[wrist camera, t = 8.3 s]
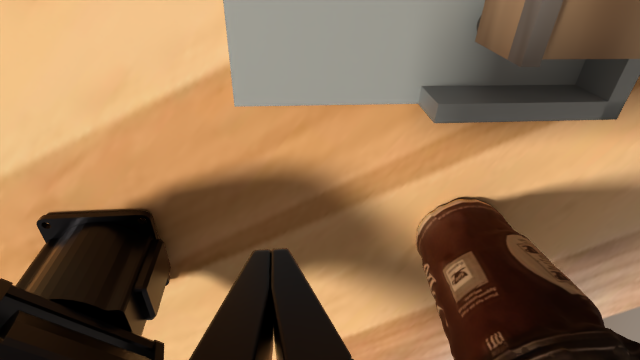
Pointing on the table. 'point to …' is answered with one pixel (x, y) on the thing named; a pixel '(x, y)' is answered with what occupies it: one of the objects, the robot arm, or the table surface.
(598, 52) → the block
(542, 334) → the coffee cup
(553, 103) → the dock
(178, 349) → the table surface
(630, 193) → the table surface
